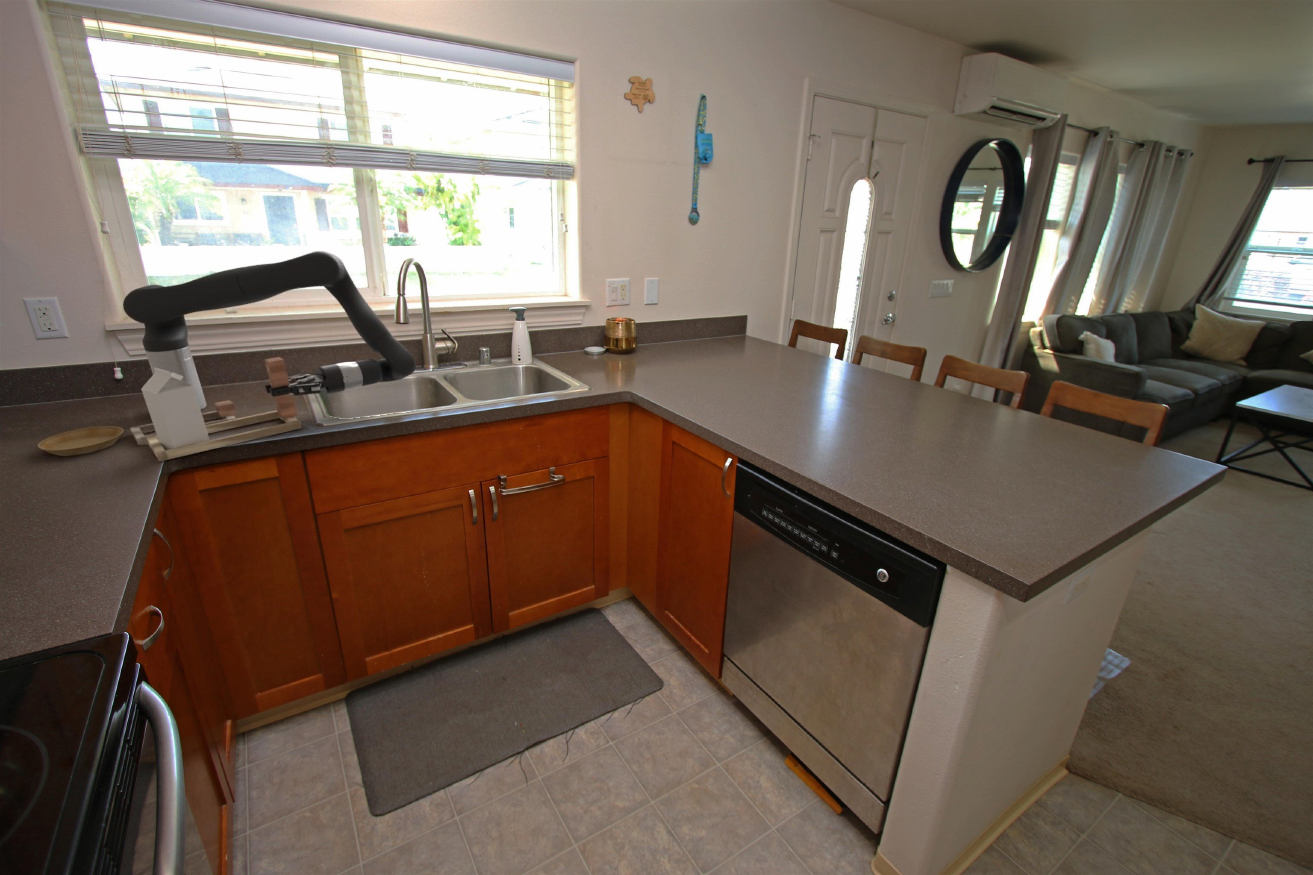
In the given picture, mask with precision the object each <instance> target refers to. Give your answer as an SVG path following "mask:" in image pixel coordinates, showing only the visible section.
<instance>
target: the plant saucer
mask: <svg viewBox="0 0 1313 875" xmlns="http://www.w3.org/2000/svg"><path fill="white" fill-rule="evenodd" d="M123 433H124V429H123V428H122V427H119V426H113V425H107V426H106V425H103V426H102V425H101V426H92V427H84V428H79V429H74V430H73V429H72V430H68V431H65V432H61V433H59V434H55V435H53V436H49V437H47V438H45V439H43V440H41V441H39V443H38V444H37V447H38V448H39V449H40V450H42V451H44V452H46V453H48V454H52V455H54V456H58V457H71V456H79V455H80V456H81V455H85V454H91V453H94V452H98V451H102V450H104V449H106V448H109V447H111V446H113V445H114V444H115V443H116V442H118V441H119V439H120V438H121V436H122V435H123Z"/></svg>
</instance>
